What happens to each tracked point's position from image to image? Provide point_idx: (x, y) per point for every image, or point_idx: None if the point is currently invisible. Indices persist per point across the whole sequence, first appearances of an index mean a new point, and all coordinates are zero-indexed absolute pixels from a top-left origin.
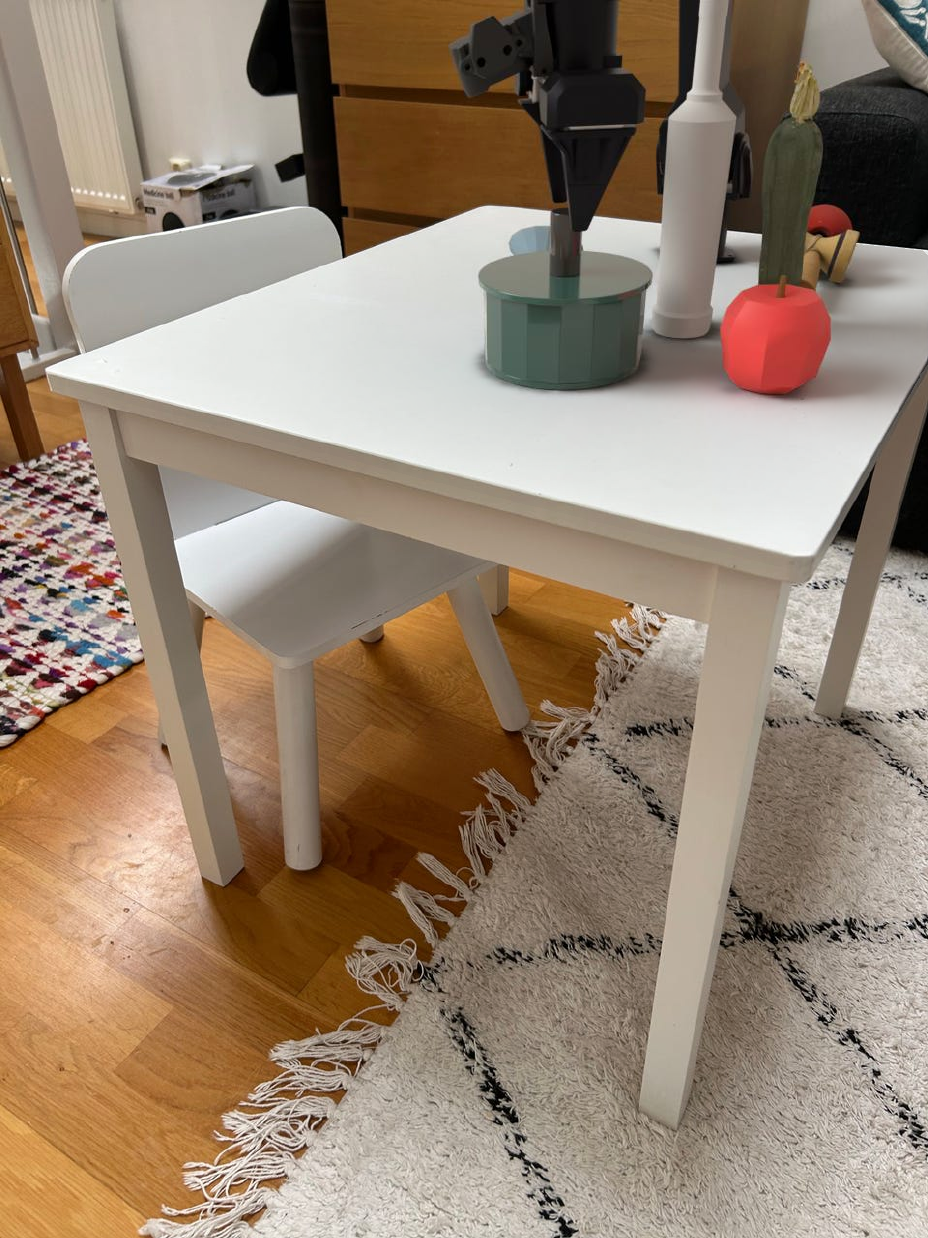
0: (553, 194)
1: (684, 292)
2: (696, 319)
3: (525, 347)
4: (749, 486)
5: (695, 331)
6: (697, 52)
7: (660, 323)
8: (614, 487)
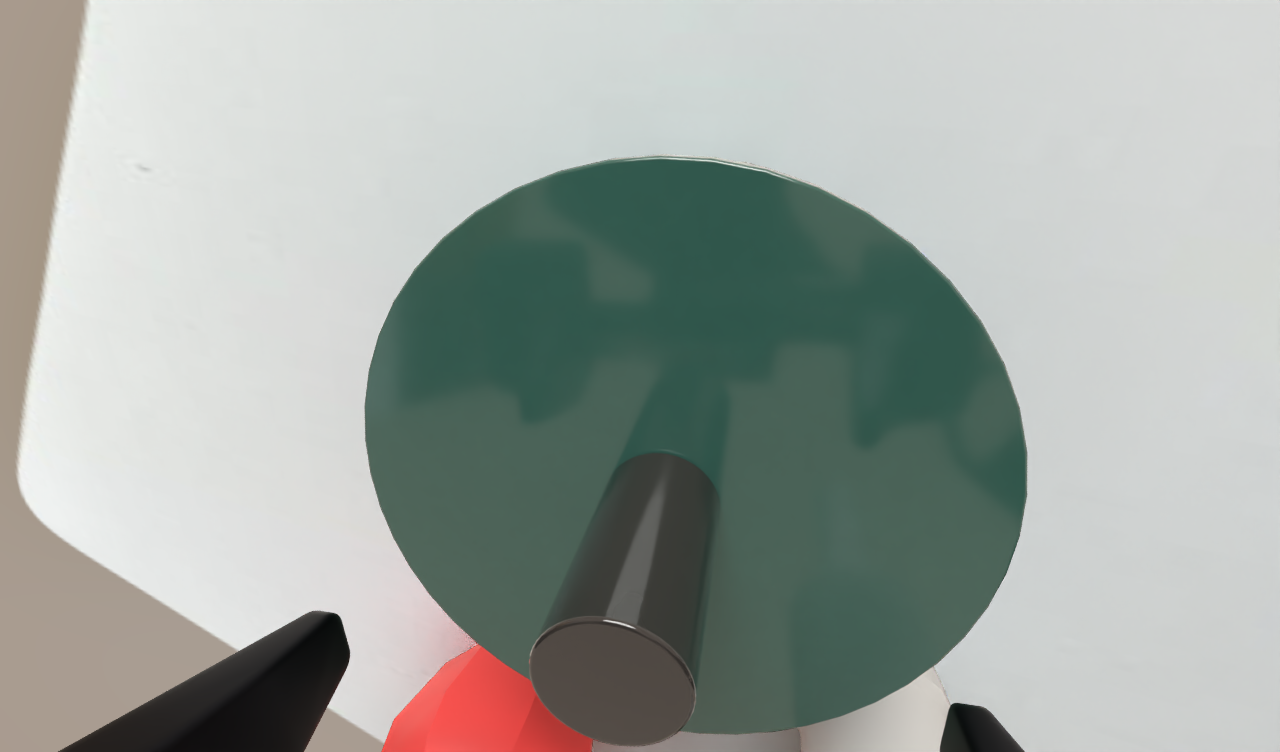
0: (963, 742)
1: (806, 749)
2: None
3: None
4: (162, 517)
5: None
6: None
7: None
8: (110, 337)
